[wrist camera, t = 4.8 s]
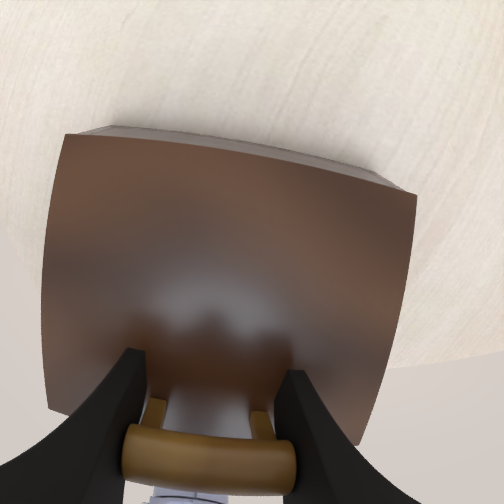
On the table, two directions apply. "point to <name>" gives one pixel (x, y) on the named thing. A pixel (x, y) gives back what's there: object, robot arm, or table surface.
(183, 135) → the keepsake box
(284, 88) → the table surface
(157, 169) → the box lid
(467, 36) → the table surface
